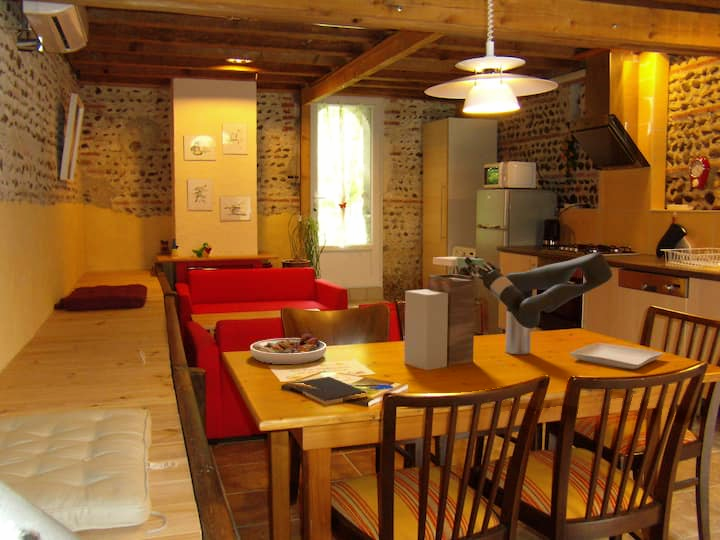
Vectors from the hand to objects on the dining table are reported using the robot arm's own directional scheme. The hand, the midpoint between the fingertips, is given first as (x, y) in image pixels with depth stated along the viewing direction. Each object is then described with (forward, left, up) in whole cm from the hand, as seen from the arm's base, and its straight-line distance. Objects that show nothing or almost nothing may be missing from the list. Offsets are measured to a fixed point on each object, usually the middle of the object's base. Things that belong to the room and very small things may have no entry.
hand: (470, 258), depth 254 cm
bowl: (+68, -19, -41) cm, 82 cm away
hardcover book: (+54, +32, -42) cm, 76 cm away
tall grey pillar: (+16, -3, -41) cm, 44 cm away
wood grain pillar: (+5, -9, -41) cm, 42 cm away
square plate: (-61, -6, -41) cm, 74 cm away
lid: (+3, -4, -3) cm, 6 cm away
